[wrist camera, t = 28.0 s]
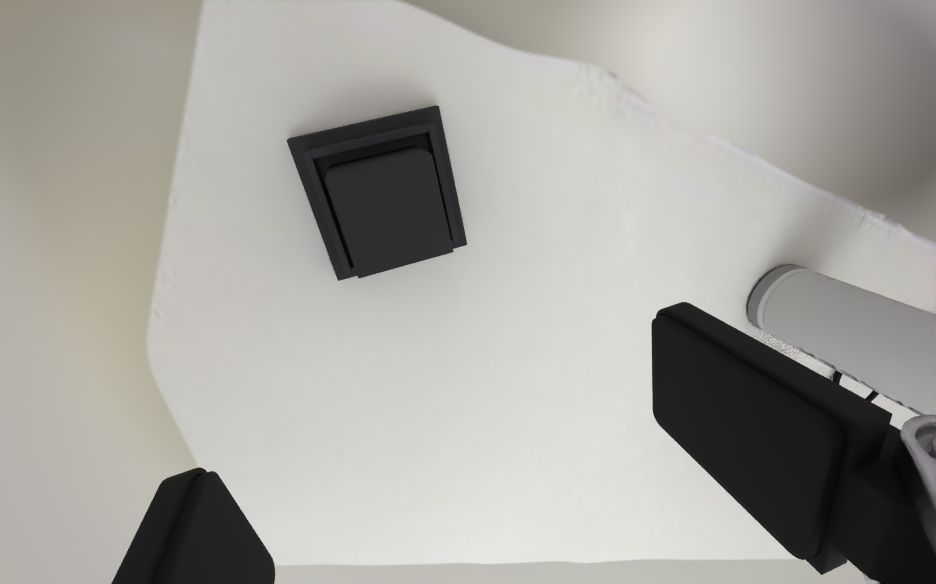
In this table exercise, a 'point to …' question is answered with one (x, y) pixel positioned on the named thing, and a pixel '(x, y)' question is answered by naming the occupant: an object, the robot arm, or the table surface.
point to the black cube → (389, 209)
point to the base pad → (364, 141)
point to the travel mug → (852, 332)
